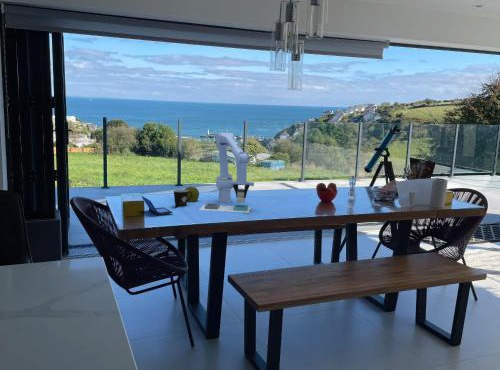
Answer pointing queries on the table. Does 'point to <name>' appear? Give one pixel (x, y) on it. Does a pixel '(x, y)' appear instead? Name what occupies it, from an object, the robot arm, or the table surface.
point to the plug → (240, 195)
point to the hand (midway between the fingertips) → (241, 197)
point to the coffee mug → (181, 197)
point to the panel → (226, 208)
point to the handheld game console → (156, 210)
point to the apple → (194, 194)
